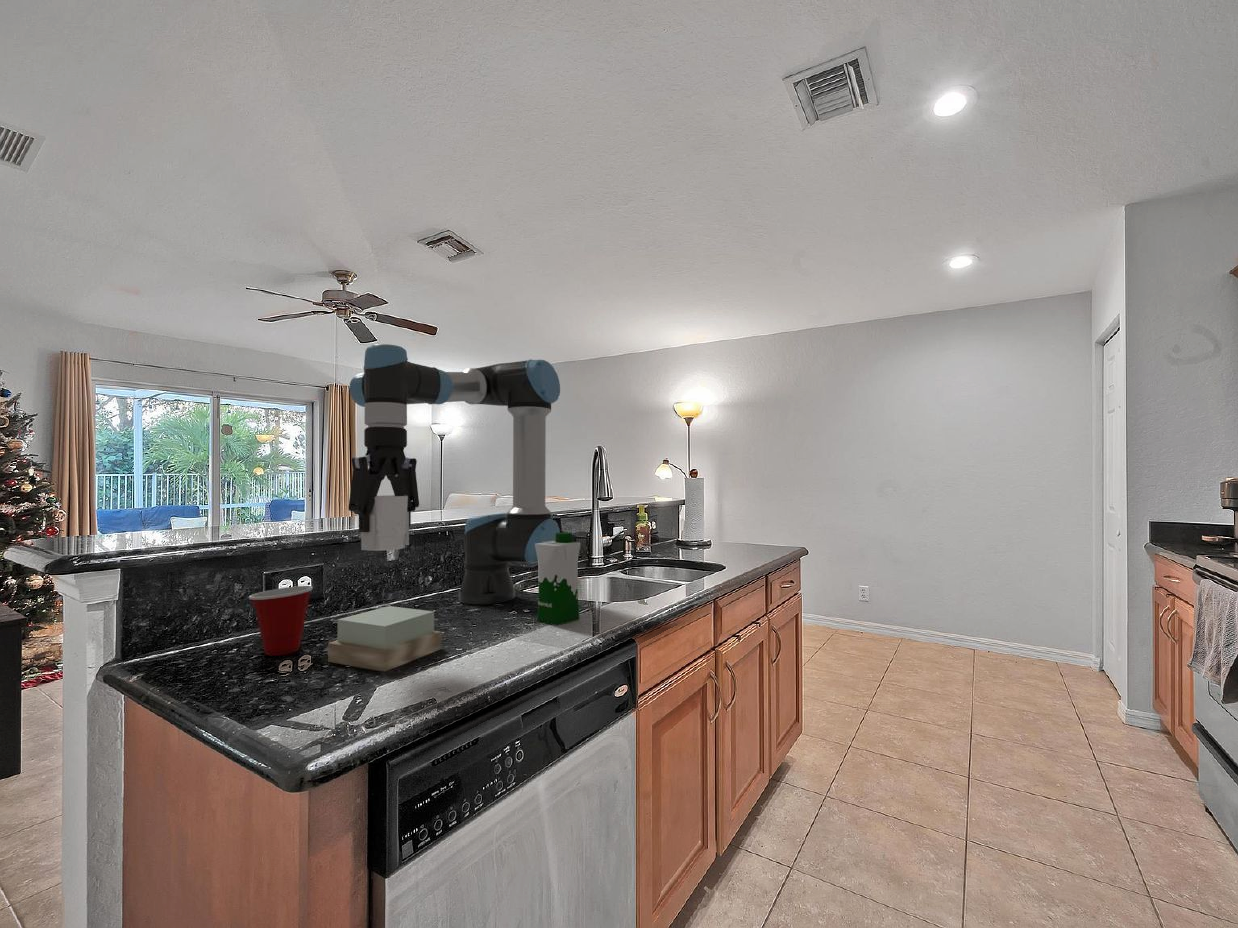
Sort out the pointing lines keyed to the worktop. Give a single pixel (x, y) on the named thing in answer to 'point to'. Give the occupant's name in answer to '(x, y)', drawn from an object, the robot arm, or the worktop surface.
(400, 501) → the white cup
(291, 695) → the worktop surface
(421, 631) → the tower top
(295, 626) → the plastic cup
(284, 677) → the worktop surface
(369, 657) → the tower base
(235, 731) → the worktop surface
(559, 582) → the milk carton
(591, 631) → the worktop surface
